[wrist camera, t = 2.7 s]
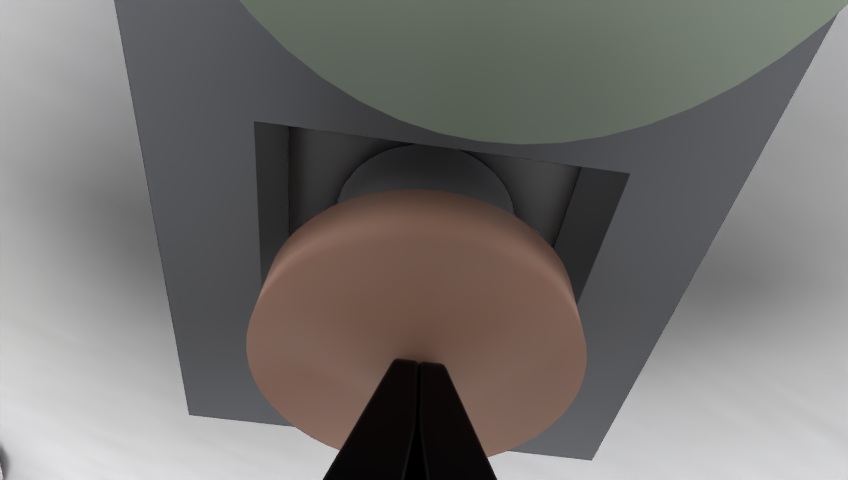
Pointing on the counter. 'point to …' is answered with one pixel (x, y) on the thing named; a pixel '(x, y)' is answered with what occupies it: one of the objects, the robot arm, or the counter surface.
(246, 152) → the panel
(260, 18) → the sage button
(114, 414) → the counter surface
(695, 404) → the counter surface
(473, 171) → the terracotta button
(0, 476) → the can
